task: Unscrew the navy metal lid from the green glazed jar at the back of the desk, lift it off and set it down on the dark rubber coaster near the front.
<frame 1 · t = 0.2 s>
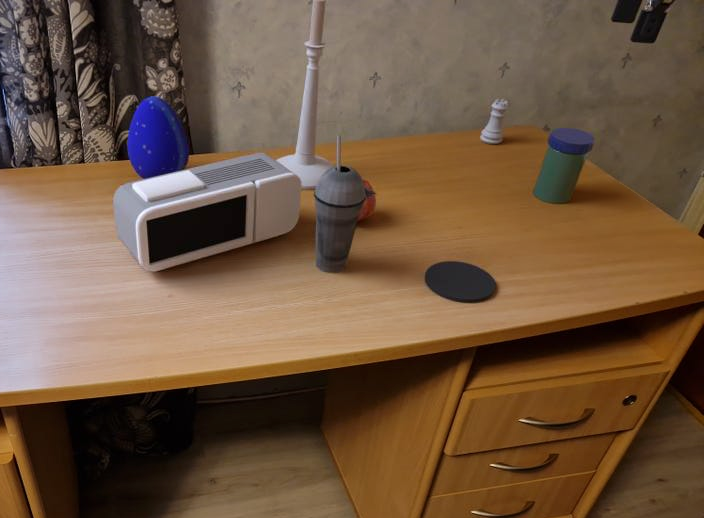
hand: (631, 31, 98), 29 cm above the table, tool pointing down, fingers open, 9 cm apart
candlestick: (303, 174, 127), on the table
alarm clock: (209, 245, 107), on the table
lid: (571, 138, 114), point 10 cm above the table, screwed on, not yet turned
pomegranate: (349, 219, 114), on the table
jar: (551, 195, 121), on the table
rook chess piece: (490, 141, 139), on the table
beverage cup: (330, 265, 103), on the table
coaster: (459, 282, 100), on the table
ornament: (158, 180, 124), on the table
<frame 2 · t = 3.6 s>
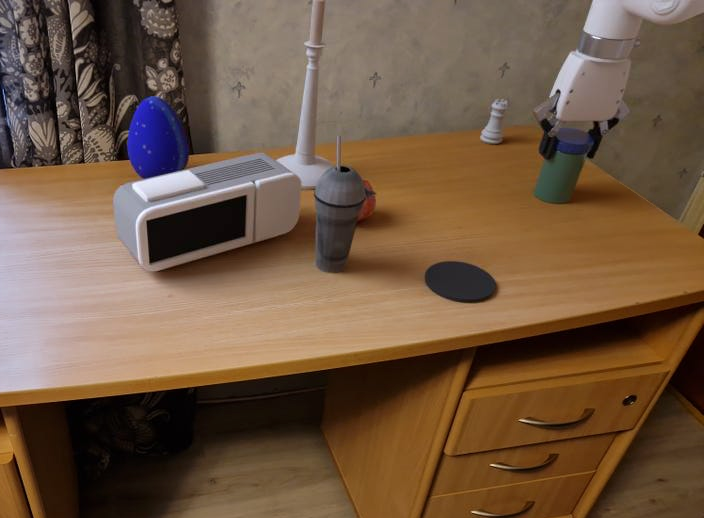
hand: (565, 155, 116), 7 cm above the table, tool pointing down, fingers closed on lid, 6 cm apart
lid: (571, 138, 114), point 10 cm above the table, screwed on, not yet turned, touching gripper
everything else where it was.
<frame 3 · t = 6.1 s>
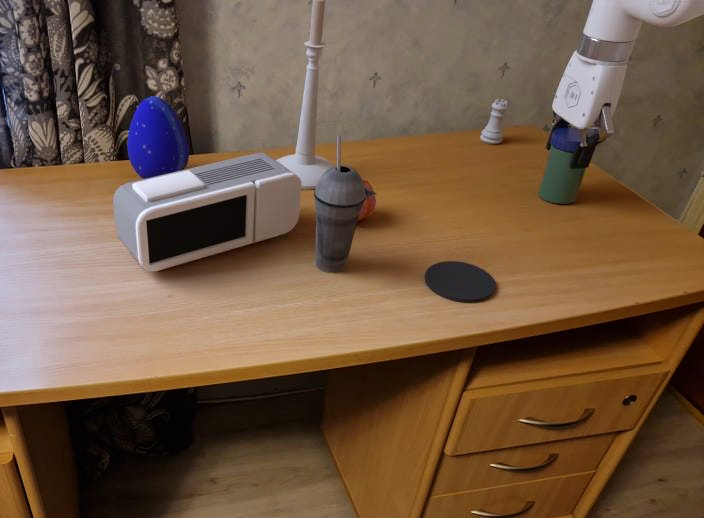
hand: (566, 157, 116), 7 cm above the table, tool pointing down, fingers closed on lid, 6 cm apart
lid: (574, 136, 114), point 11 cm above the table, turned 94° so far, risen 0.1 cm, still on its thread, touching gripper
jar: (557, 195, 120), on the table, touching gripper
everything else where it was.
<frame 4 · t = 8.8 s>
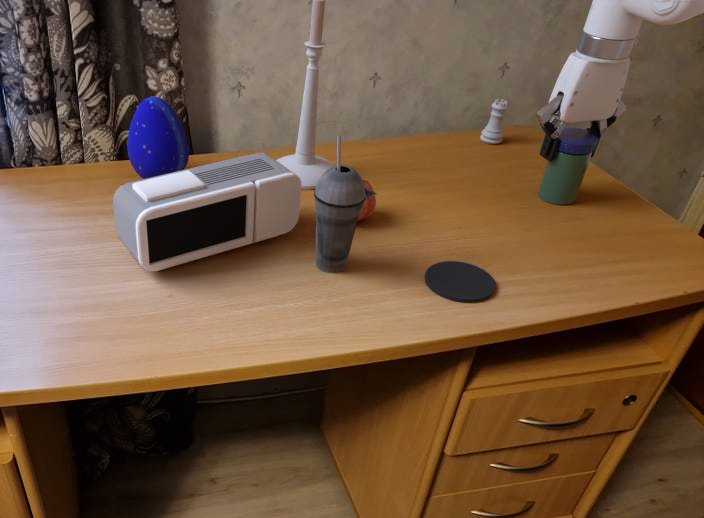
hand: (566, 155, 116), 7 cm above the table, tool pointing down, fingers closed on lid, 6 cm apart
lid: (575, 138, 113), point 11 cm above the table, turned 102° so far, risen 0.1 cm, still on its thread, touching gripper
jar: (556, 195, 120), on the table
everything else where it was.
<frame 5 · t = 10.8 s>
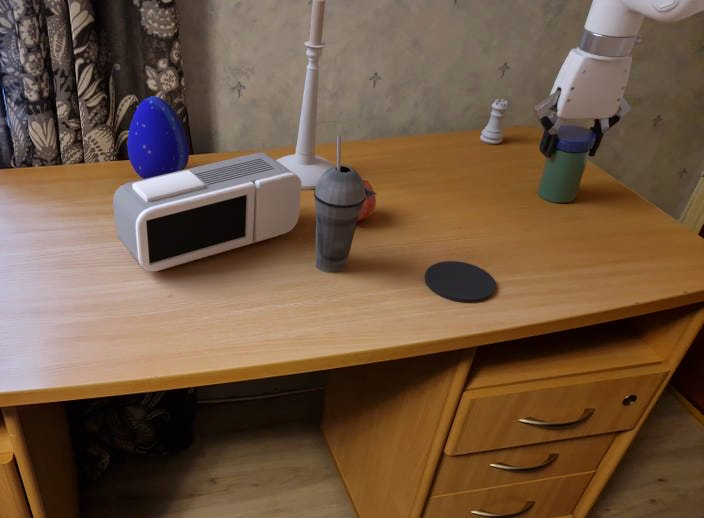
hand: (566, 152, 116), 8 cm above the table, tool pointing down, fingers closed on lid, 7 cm apart
lid: (573, 135, 114), point 11 cm above the table, turned 182° so far, risen 0.2 cm, still on its thread, touching gripper
jar: (556, 194, 121), on the table, touching gripper
everything else where it was.
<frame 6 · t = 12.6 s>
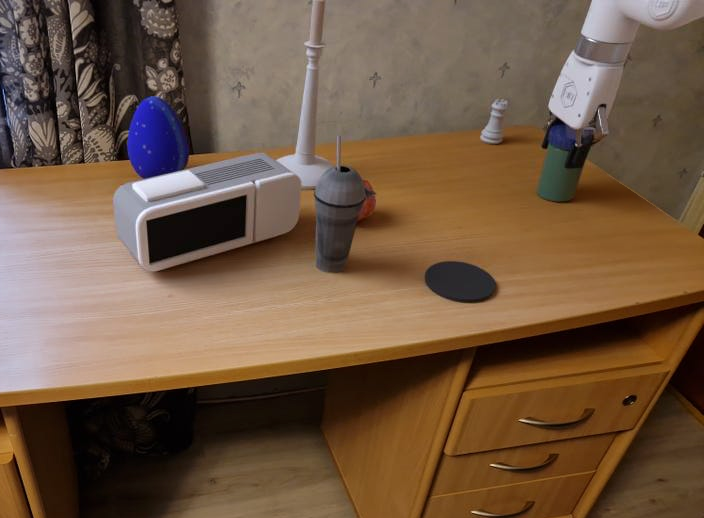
hand: (561, 156, 117), 7 cm above the table, tool pointing down, fingers closed on lid, 6 cm apart
lid: (571, 133, 114), point 11 cm above the table, turned 273° so far, risen 0.4 cm, still on its thread, touching gripper
everything else where it was.
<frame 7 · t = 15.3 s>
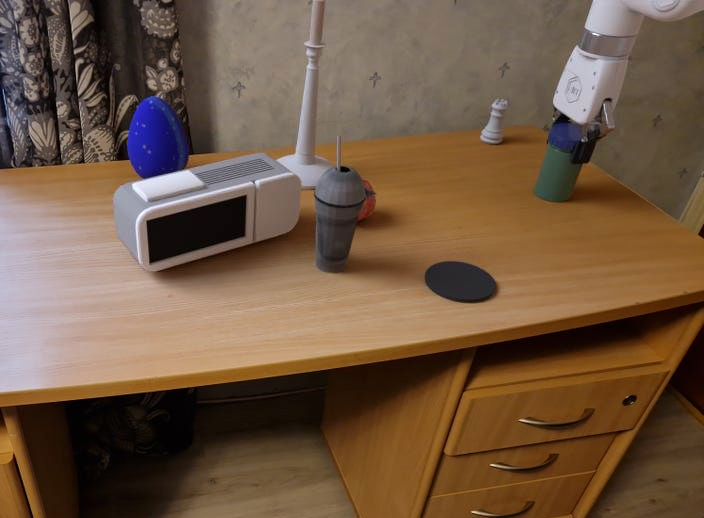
hand: (567, 152, 116), 8 cm above the table, tool pointing down, fingers closed on lid, 6 cm apart
lid: (572, 134, 114), point 11 cm above the table, off its thread, touching gripper
everything else where it was.
when the fingers open (1 cm above the table, at t = 25.3 s): lid drops 3 cm, resting on coaster.
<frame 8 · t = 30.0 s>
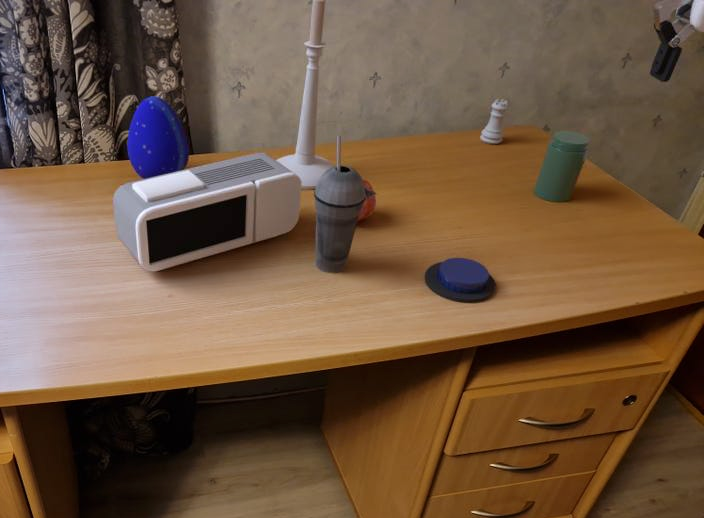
hand: (695, 77, 84), 28 cm above the table, tool pointing down, fingers open, 9 cm apart
lid: (463, 272, 98), point 2 cm above the table, off its thread, touching coaster
jar: (551, 193, 121), on the table
everything else where it was.
at the end: lid came off its thread; lid inside the target area on the coaster (0.2 cm from its centre), point 1.9 cm above the coaster's base; the gripper is holding nothing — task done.
